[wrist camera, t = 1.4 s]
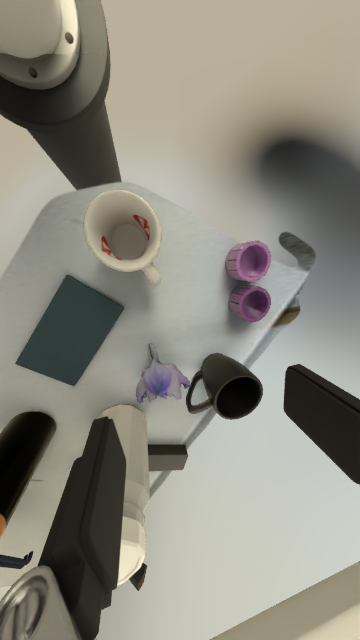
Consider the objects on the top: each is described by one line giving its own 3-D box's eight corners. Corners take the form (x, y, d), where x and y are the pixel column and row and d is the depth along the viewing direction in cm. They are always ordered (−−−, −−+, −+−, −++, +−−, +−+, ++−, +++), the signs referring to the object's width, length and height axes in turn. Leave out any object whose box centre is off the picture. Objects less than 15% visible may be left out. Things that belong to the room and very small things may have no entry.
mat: (68, 274, 25) (66, 274, 25) (124, 307, 28) (123, 308, 28) (18, 361, 27) (14, 363, 27) (75, 383, 30) (74, 386, 30)
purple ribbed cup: (227, 288, 31) (237, 291, 28) (257, 282, 32) (270, 283, 29) (229, 319, 33) (239, 325, 30) (258, 313, 34) (270, 317, 31)
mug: (172, 358, 33) (185, 392, 24) (231, 342, 35) (262, 367, 26) (181, 393, 36) (194, 435, 27) (234, 376, 37) (264, 410, 28)
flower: (117, 361, 24) (156, 426, 23) (167, 331, 28) (202, 385, 27) (115, 367, 32) (144, 415, 31) (154, 343, 36) (181, 385, 35)
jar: (145, 396, 34) (150, 525, 17) (147, 435, 37) (153, 579, 20) (90, 404, 32) (34, 558, 15) (97, 445, 35) (56, 613, 18)
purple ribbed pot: (224, 247, 29) (235, 244, 26) (256, 241, 30) (270, 238, 27) (226, 283, 31) (237, 284, 28) (257, 276, 32) (270, 277, 29)
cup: (175, 267, 28) (188, 267, 21) (135, 295, 28) (134, 305, 21) (133, 200, 25) (131, 171, 17) (87, 233, 24) (64, 217, 17)
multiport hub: (188, 454, 38) (185, 444, 40) (137, 455, 35) (137, 444, 37) (183, 470, 39) (180, 459, 41) (132, 471, 36) (133, 460, 38)
